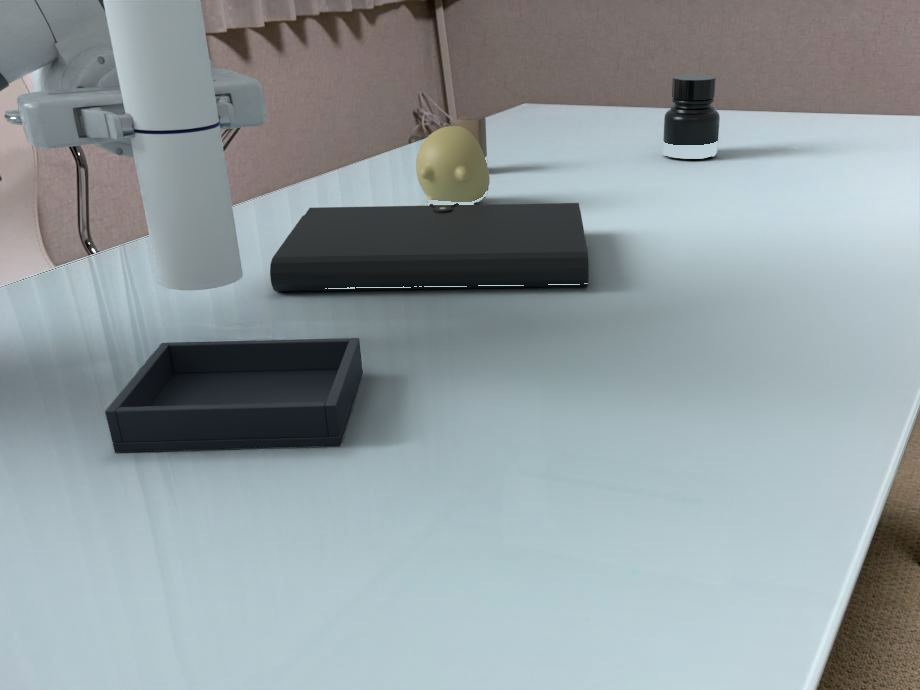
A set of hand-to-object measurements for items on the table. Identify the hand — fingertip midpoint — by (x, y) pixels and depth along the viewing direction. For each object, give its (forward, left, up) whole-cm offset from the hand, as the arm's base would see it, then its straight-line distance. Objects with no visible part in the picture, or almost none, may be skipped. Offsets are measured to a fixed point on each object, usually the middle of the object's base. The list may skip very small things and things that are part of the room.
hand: (177, 121), depth 85 cm
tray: (+5, -13, -20) cm, 24 cm away
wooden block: (+21, +81, -20) cm, 86 cm away
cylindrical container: (-1, +1, -13) cm, 13 cm away
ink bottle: (+57, +89, -20) cm, 108 cm away
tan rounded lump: (+19, +56, -20) cm, 62 cm away
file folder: (+18, +29, -20) cm, 40 cm away
